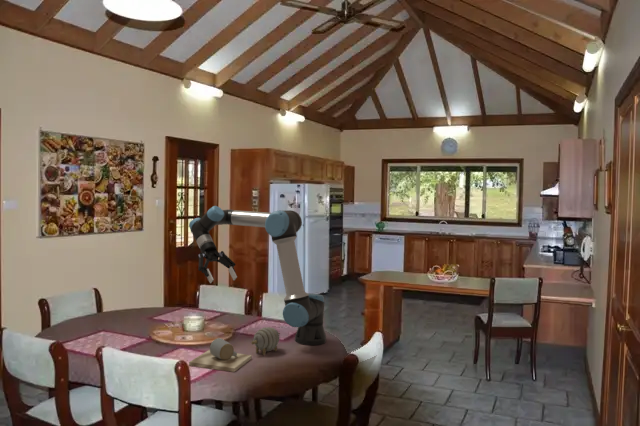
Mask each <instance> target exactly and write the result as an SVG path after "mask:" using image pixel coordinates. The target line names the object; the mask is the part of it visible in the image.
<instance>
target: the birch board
mask: <svg viewBox="0 0 640 426" xmlns="http://www.w3.org/2000/svg"><path fill="white" fill-rule="evenodd" d="M236 353H237V352H236ZM252 359H253V358H252V354H246V353H237V355H236V356H232V357H231V358H230V359H228V360H222V359H219V358H217V357H215V356H213V355H212V354H211V353H210V349H208V350H206V351H205V352H203V353H202V354H200V355H198V356H197V357H194V358H193V359H192V360H190V361H189V362H188V366H190V367H196V368H203V369H210V370H218V371H225V372H232V373H235V372H236V371H238V370H239V369H240V368H242V367H243V366H244V365H246V364H247V363H248V362H249V361H251V360H252Z"/></svg>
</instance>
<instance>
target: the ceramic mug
mask: <svg viewBox="0 0 640 426" xmlns="http://www.w3.org/2000/svg"><path fill="white" fill-rule="evenodd" d="M209 350H210V353H211V354H212V355H213V356H215V357H217V358H219V359H222V360H228V359H230V358H231V357H232V356H236V355H237V352H236V351H235V350H234V346H233V345H232V344H231V343H230V342H228V341H227V340H225V339H223V338H221V337H217V338H214V339H213V340H212V341H211V343H210V346H209Z"/></svg>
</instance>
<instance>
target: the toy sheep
mask: <svg viewBox="0 0 640 426" xmlns="http://www.w3.org/2000/svg"><path fill="white" fill-rule="evenodd" d="M280 334H281V333H280V332H279V331H278V330H277V328H275V327H270V326H269V327H262V328H260V329H259V330H257V331H256V332H255V334H253V340H252V341H251V342H250V343H251V345H254V346H255V353H256V354H258V353H259V352H260V351H262V355H263V356H265V355H266V352H271V351H272V350H273V349H274V350H273V351H274V352H277V351H278V345H279V342H280Z"/></svg>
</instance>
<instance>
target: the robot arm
mask: <svg viewBox="0 0 640 426" xmlns="http://www.w3.org/2000/svg"><path fill="white" fill-rule="evenodd" d="M302 223H303V222H302V218H301V215H300V214H299V213H298V212H297V211H295V210H276V211H272V212H268V211H267V212H263V211H252V210H251V211H250V210H236V209H235V210H234V209H222V208H221V207H219V206H217V205H213V206H212V207H210V208H209V209H208V210H207V211H206V212H205V214H204V215H203V216H202V217H196V218H195V217H194V219H191V220H190V222H189V224H188V227H189V229H190V232H191V234H192V236H193V238H194V240H195V243H196V244H197V246H198V248H199V249H200V252H199V254H198V256H197V258H198V268H197V269H198V271H199V272H201V273H203V275H204V276H205V278H207V281H208V282H209V284H212V283H213V282H214V277H213V274H212V272H211V271H210V268H208V266H209V263H212V262H217V263H220V264H221V265H223V266H224V267H226V268H227V269H228V270H227V271H228V273H229V274H230V276H231V278H232V281H236V279H237V278H238V276H237V273H236V270H235V266H236V262H234V261H233V260H232V259H231V258H230V257H229V256H228V255H227V254H226V253H225V252H224V251H223V250H221V251H220V252H219V251H218V249H217V246H216V244H215V242H214V240H213V238H212V236H211V234H210V231H211V230H212V229H213V228H214V227H215V226H220V225H221V226H223V225H229V226H231V225H232V226H243V227H254V228H255V227H256V228H265V231H266V233H267V234H268V235H269V236H270V237H271V241H272V242H271V243H273V244H274V245H276V249H277V255H278V259H279V264H280V265H279V266H280V269H281V274H282V275H281V276H282V280H283V284H284V290H285V294H286V295H285V296H284V297H285V298H284V299H283V301H284V308H283V309H282V318H283V320H284V322H285V323H286V324H287V325H288V326H290V327H292V328H297V330H296V333H295V336H294V340H295V342H296V343H298V344H301V345H307V346H319V345H323V344H325V343H326V342H327V336H326V331H325V327H324V314H325V297H324V295H323V294H318V293H310V292H309V293H308V292H306V291H305V285H304V282H303V277H302V272H301V267H300V263H299V262H300V261H299V258H298V257H299V256H298V252H297V248H296V243H295V242H296V239H297V233H298V231H300V229H301V227H302V225H303V224H302ZM204 259H205V261H204Z"/></svg>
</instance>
